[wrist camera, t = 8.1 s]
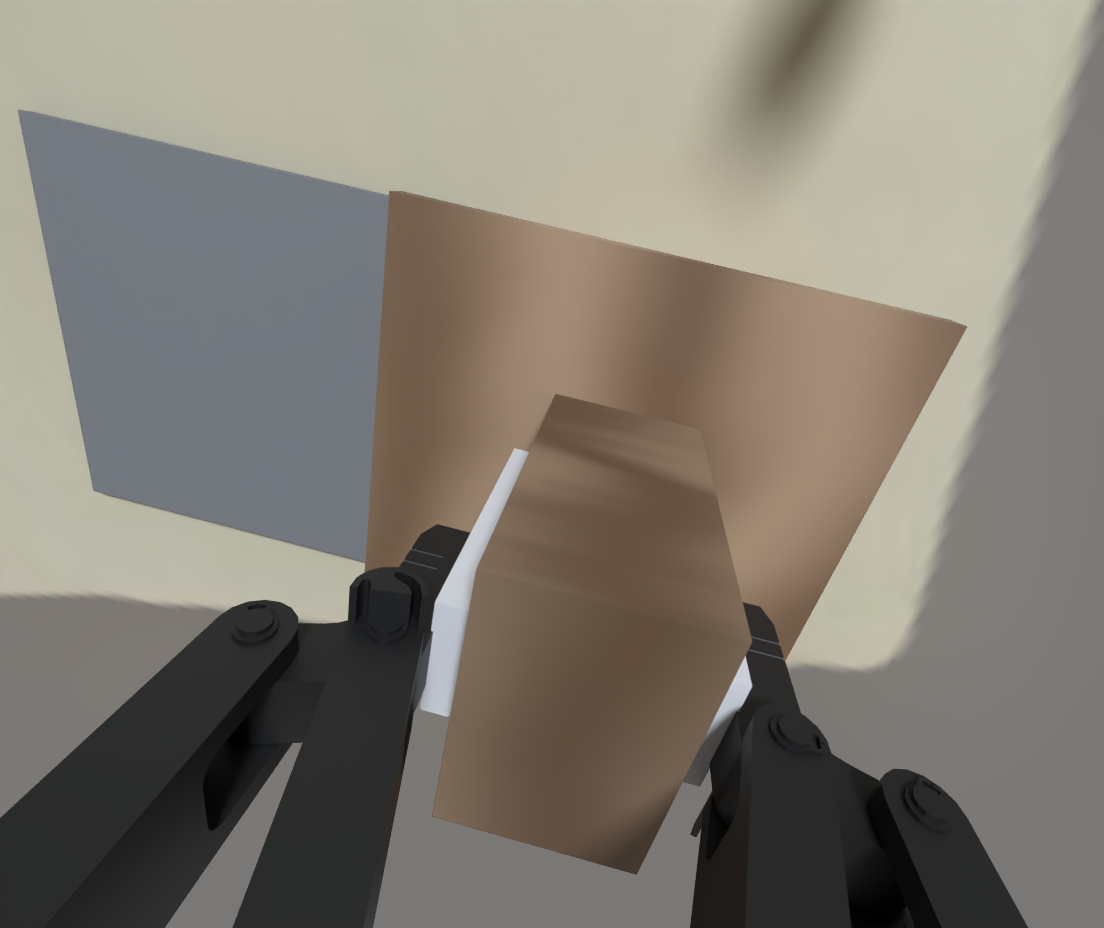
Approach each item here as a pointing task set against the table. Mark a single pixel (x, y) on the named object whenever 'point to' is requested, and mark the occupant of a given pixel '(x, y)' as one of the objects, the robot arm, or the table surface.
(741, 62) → the table surface
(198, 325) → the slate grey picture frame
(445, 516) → the walnut lid
